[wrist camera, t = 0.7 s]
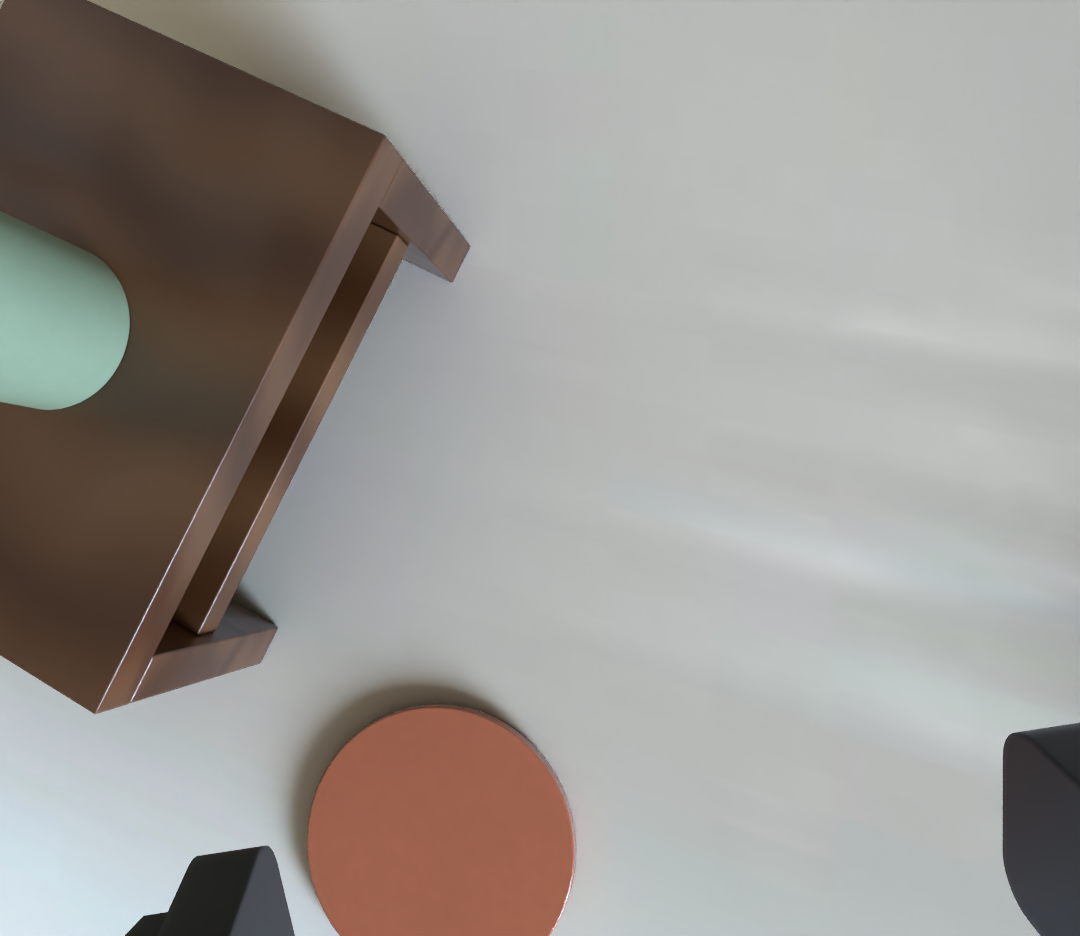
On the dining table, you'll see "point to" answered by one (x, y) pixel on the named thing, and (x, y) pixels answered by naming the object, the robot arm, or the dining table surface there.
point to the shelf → (180, 337)
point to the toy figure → (56, 319)
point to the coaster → (441, 830)
